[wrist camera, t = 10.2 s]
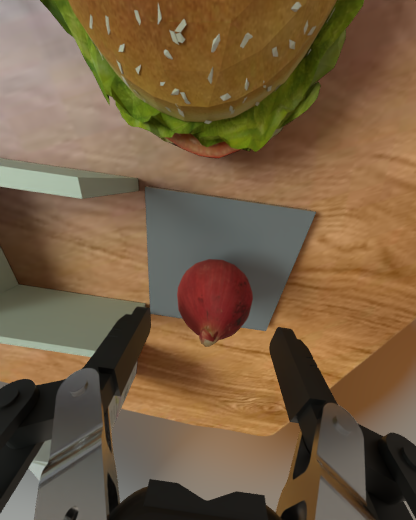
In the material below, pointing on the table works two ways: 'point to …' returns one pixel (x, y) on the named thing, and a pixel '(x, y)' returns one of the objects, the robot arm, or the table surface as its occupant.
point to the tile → (221, 245)
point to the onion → (214, 299)
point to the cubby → (54, 301)
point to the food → (209, 63)
